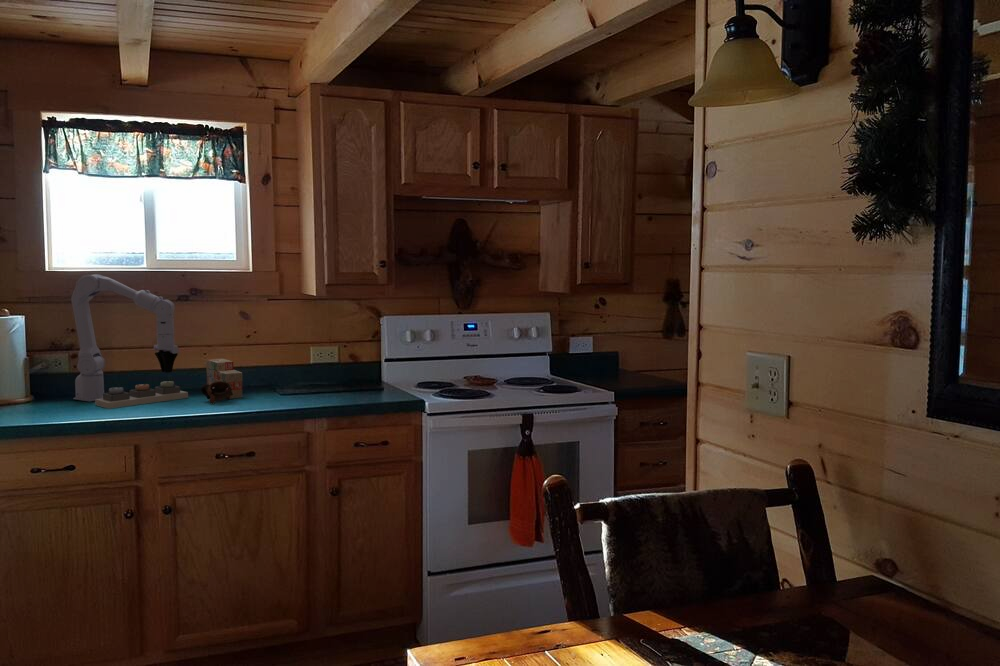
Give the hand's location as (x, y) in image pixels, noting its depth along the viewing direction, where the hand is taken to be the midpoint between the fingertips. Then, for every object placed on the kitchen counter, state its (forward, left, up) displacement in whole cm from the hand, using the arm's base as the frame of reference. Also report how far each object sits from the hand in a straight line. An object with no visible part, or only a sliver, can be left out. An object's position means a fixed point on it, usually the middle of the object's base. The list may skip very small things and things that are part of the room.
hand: (166, 371), depth 284 cm
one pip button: (0, 0, -5) cm, 5 cm away
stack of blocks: (+11, +16, -10) cm, 22 cm away
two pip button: (-3, -18, -5) cm, 19 cm away
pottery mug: (+20, +5, -10) cm, 23 cm away
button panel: (-2, -9, -9) cm, 13 cm away
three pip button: (-2, -9, -5) cm, 10 cm away
